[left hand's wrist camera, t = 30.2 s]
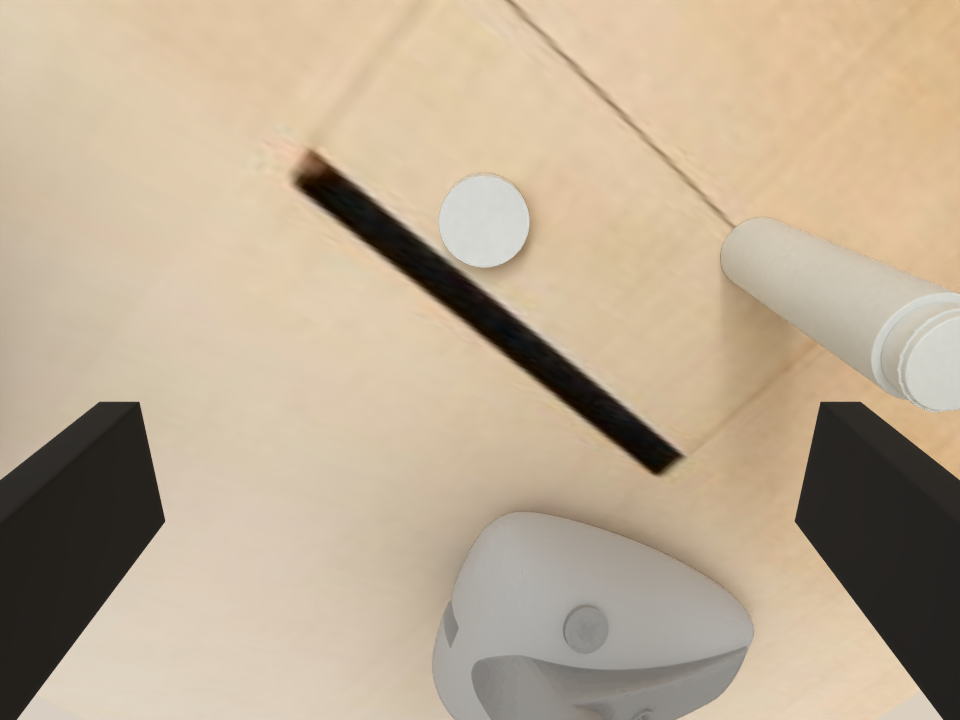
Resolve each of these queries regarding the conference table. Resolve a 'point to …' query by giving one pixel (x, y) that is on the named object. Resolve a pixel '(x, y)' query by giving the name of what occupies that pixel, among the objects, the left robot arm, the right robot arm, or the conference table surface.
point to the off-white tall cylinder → (854, 308)
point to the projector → (582, 628)
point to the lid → (484, 220)
